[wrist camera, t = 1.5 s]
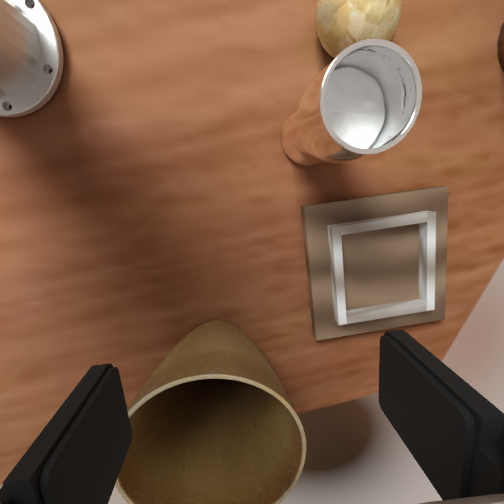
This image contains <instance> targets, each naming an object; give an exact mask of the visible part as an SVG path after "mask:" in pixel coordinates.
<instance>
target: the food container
mask: <svg viewBox="0 0 504 504" xmlns="http://www.w3.org/2000/svg"><path fill="white" fill-rule="evenodd" d="M498 58H499V62H500V65H501V67H502V69H503V71H504V22H503V24H502V26H501V30H500V34H499V38H498Z"/></svg>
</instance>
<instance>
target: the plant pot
mask: <svg viewBox="0 0 504 504" xmlns="http://www.w3.org/2000/svg"><path fill="white" fill-rule="evenodd" d="M127 411H128V416H129V420H130V425H131V429H132V440H131V444H130V447H129V449H128V452H127V455H126V457H125V460H124V463H123V465H122V468H121V470H120V473H119V476H118V478H117V481H116V483H115V485H116V487H117V489H118V491H119V492H120V494H121V495H122V497H123V498H124V499H125V501H126V502H127V503H128V504H279V503H280V502H281V501H282V500H283V499H284V498H285V497H286V496H287V495H288V494H289V493H290V491H291V490H292V488H293V487H294V486H295V484H296V482H297V481H298V478H299V476H300V474H301V472H302V469H303V466H304V462H305V457H306V438H305V433H304V430H303V426H302V424H301V421H300V419H299V417H298V415H297V413H296V411H295V409H294V407H293V405H292V403H291V401H290V399H289V398H288V396H287V394H286V392H285V390H284V388H283V386H282V384H281V382H280V381H279V379H278V377H277V376H276V374H275V372H274V371H273V369H272V367H271V366H270V364H269V363H268V361H267V360H266V358H265V357H264V356H263V354H262V353H261V351H260V350H259V349H258V348H257V347H256V345H255V344H254V343H253V342H252V341H251V340H250V339H249V337H248V336H247V335H245V334H244V333H243V332H242V331H241V330H240V329H239V328H238V327H236V326H235V325H233V324H232V323H229V322H226V321H222V320H213V321H208V322H206V323H203V324H201V325H200V326H198V327H197V328H195V329H194V330H193V331H191V332H190V333H189V334H188V335H186V336H185V337H184V338H183V339H182V340H181V341H180V342H179V343H178V344H177V345H176V346H175V347H174V348H173V349H172V350H171V351H170V352H169V354H168V355H167V356H166V357H165V358H164V359H163V361H162V362H161V363H160V364H159V366H158V367H157V368H156V369H155V371H154V372H153V373H152V375H151V376H150V377H149V379H148V380H147V382H146V383H145V384H144V386H143V387H142V389H141V390H140V392H139V393H138V395H137V396H136V398H135V399H134V401H133V402H132V404H131V406H130V407H129V409H128V410H127Z"/></svg>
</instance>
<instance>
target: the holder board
mask: <svg viewBox="0 0 504 504" xmlns="http://www.w3.org/2000/svg"><path fill="white" fill-rule="evenodd" d="M301 211H302V222H303V232H304V243H305V254H306V264H307V275H308V285H309V296H310V306H311V317H312V327H313V335H314V337H315V339H316V341H317V340H323V339H329V338H335V337H341V336H348V335H354V334H360V333H366V332H372V331H378V330H384V329H390V328H396V327H402V326H408V325H414V324H420V323H426V322H432V321H438V320H444V319H445V292H446V253H447V214H448V186H437V187H430V188H423V189H416V190H409V191H402V192H395V193H388V194H381V195H374V196H368V197H361V198H354V199H347V200H340V201H333V202H326V203H319V204H312V205H306V206H301Z"/></svg>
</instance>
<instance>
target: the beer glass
mask: <svg viewBox="0 0 504 504" xmlns="http://www.w3.org/2000/svg"><path fill="white" fill-rule="evenodd" d="M421 100H422V83H421V78H420V74H419V71H418V68H417V66H416V64H415V62H414V61H413V59H412V58H411V56H410V55H409V54H408V53H407V52H406V51H405V50H404V49H403V48H402V47H400V46H399V45H397V44H395V43H393V42H391V41H388V40H384V39H365V40H361V41H358V42H356V43H354V44H352V45H350V46H348V47H347V48H345V49H344V50H343V51H342V52H340V53H339V54H338V55H337V56H336V57H335V59H334V60H333V61H331V62H330V63H329V64H328V65H327V66H326V67H325V68H324V69H323V70H322V71H321V72H320V73H319V74H318V75H317V76H316V77H315V78H314V79H313V81H312V82H311V83H310V85H309V86H308V88H307V89H306V91H305V92H304V94H303V96H302V98H301V100H300V103H299V105H298V108H297V111H296V112H294V113H293V114H292V115H290V117H289V118H288V119H287V120H286V122H285V124H284V126H283V129H282V135H281V141H282V146H283V149H284V151H285V153H286V155H287V156H288V157H289V158H290V159H291V160H292V161H294V162H295V163H297V164H300V165H305V166H310V165H314V164H317V163H319V162H321V161H323V162H329V163H345V162H352V161H356V160H359V159H363V158H365V157H368V156H371V155H373V154H376V153H380V152H383V151H385V150H387V149H389V148H391V147H393V146H394V145H396V144H397V143H398V142H400V141H401V140H402V139H403V138H404V137H405V136H406V135H407V133H408V132H409V131H410V129H411V128H412V126H413V125H414V123H415V121H416V118H417V116H418V113H419V110H420V106H421Z"/></svg>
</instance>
